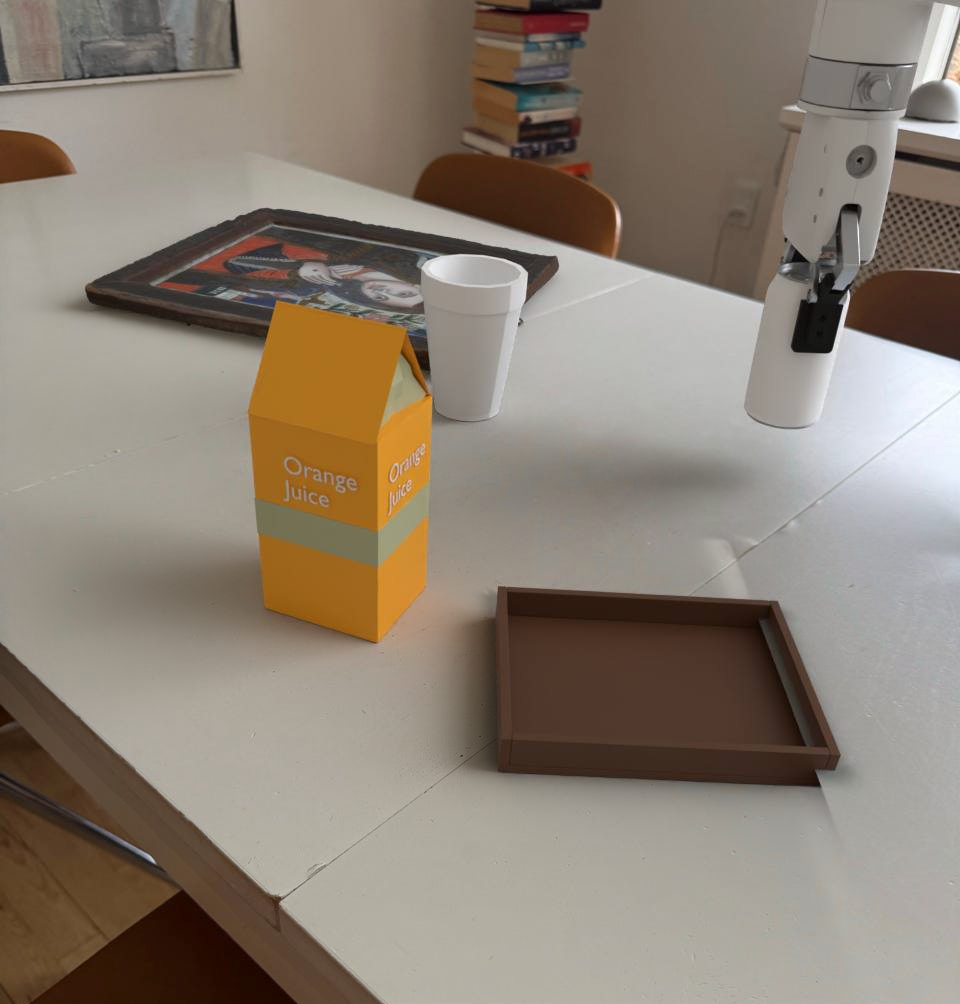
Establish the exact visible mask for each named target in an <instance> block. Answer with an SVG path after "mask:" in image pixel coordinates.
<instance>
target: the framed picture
mask: <svg viewBox="0 0 960 1004" xmlns="http://www.w3.org/2000/svg"><path fill="white" fill-rule="evenodd" d="M458 254H468V255H485V256H490V257H496V258H501V259H506V260H508V261H511V262H513V263H516V264H518V265H521V266H522V267H523V268H524V269H525V270H526V271H527V272H528V278H527V289H526V299H525V302H524V304H523V306H524V305H526V303H527V302H529V301H530V299H532V297H533V296H534V295H535V294H536V293H537V291H539V290H540V289H542V287H544V286H545V285H546V284H547V283H548V282H550V280H551V279H552V278H553V277H554V276H556V273H557V272H558V271H559V268H560V263H559V259H558V258H559V257H558V255H545V254H538V253H530V252H525V251H522V250H521V251H520V250H517V249H511V248H508V247H501V246H494V245H493V246H492V245H488V244H483V243H481V242H477V241H471V240H467V239H463V238H458V237H452V236H445V235H439V234H435V233H429V232H428V233H427V232H422V231H416V230H411V229H405V228H400V227H392V226H386V225H382V224H377V225H376V224H374V223H363V222H361V221H357V220H349V219H347V218H343V217H338V216H329V215H327V216H326V215H323V214H319V213H313V212H312V213H309V212H304V211H299V210H293V209H285V208H271V207H261V208H257V209H255V210H252V211H250V212H247V213H246V214H239V215H237V216H236V217H235V218H234V219H226V220H224V221H222V222H220V223H217V224H216V225H215V226H210V227H207V228H205V229H203V230H200V231H199V232H196V233H194V234H192V235H189V236H187V237H186V238H183V239H180V240H178V241H177V242H175V243H172V244H170V245H168V246H166V247H163V248H161V249H159V250H156V251H154V252H153V253H151V254H149V255H147V256H145V257H141V258H139V259H136V260H135V261H134V262H132V263H129V264H126V265H124V266H122V267H119V268H118V269H116V270H114V271H111V272H108V273H107V274H103V275H102V276H101V277H98V278H95V279H94V280H93V281H91V282H88V283H87V284H86V285H85V286H84V291H85V295H86V298H87V300H88V302H89V304H93V305H96V306H99V307H104V308H108V309H113V310H118V311H123V312H127V313H131V314H132V313H133V314H137V315H142V316H147V317H152V318H157V319H162V320H167V321H170V322H171V321H173V322H175V323H176V322H177V323H181V324H185V325H186V326H187V327H190V326H198V327H202V328H207V329H212V330H217V331H222V332H227V333H235V334H241V335H247V336H250V337H251V336H252V337H257V338H262V339H265V340H266V339H267V335H268V331H269V327H270V323H271V320H272V316H273V312H274V308H275V304H276V300H278V301H283V302H287V303H292V304H297V305H301V306H306V307H311V308H315V309H320V310H325V311H329V312H334V313H339V314H343V315H348V316H353V317H358V318H362V319H367V320H372V321H376V322H381V323H386V324H390V325H395V326H400V327H404V328H407V330H406V332H407V335H408V337H409V340H410V343H411V345H412V348H413V351H414V353H415V356H416V359H417V361H418V364H419V367H420V369H421V371H427V372H429V371H430V372H431V370H430V360H429V350H428V340H427V330H426V320H425V310H424V300H423V297H422V296H421V268H422V266H423V265H424V264H425V262H426V261H428V260H431V259H434V258H437V257H440V256H448V255H458ZM523 324H524V320H523V319H522V318H521V316H520V317H519V322H518V325H523Z"/></svg>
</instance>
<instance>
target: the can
mask: <svg viewBox="0 0 960 1004" xmlns="http://www.w3.org/2000/svg"><path fill="white" fill-rule="evenodd" d="M809 265H810V263H806V262H794V263H786V264H783V265H780V264H779V265H778V266H777V268H776V275H775V276H774V278H773V279H772V280H771V282H770V283H769V285H768V287H767V290H766V294H765V299H764V303H763V308H762V312H761V317H760V322H759V328H758V331H757V337H756V342H755V347H754V352H753V356H752V361H751V366H750V371H749V376H748V381H747V386H746V392H745V397H744V398H745V399H744V403H743V409H744V411H745V412H746V414H747V416H748V417H750V418H751V419H752V420H753V421H755V422H756V423H758V424H762V425H764V426H765V427H766V426H767V427H770V428H774V429H779V430H780V429H781V430H801V429H802V430H803V429H806V428H810V427H812V426H813V425H815V423H817V422H818V421H819V420H820V419H821V416H822V412H823V409H824V405H825V401H826V398H827V394H828V391H829V390H828V389H829V386H830V382H831V379H832V374H833V371H834V367H835V362H836V358H837V355H838V350H839V346H840V342H841V339H842V334H843V330H844V327H845V322H846V318H847V314H848V311H849V307H850V300H851V292H850V289H849V290H848V296H847V300H846V303H845V304H844V306H843V310H842V314H841V318H840V322H839V326H838V330H837V334H836V338H835V342H834V346H833V350H832V351H831V352H830V353H828V354H822V353H796V352H794V351H793V350H792V349H791V342H792V338H793V333H794V329H795V324H796V320H797V315H798V311H799V306H800V302H801V299H806V297H807V286H808V276H809ZM832 272H833V269H821V274H820V282H821V281H822V279H823V278H824V277H825V275H826V274H827V273H832Z"/></svg>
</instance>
